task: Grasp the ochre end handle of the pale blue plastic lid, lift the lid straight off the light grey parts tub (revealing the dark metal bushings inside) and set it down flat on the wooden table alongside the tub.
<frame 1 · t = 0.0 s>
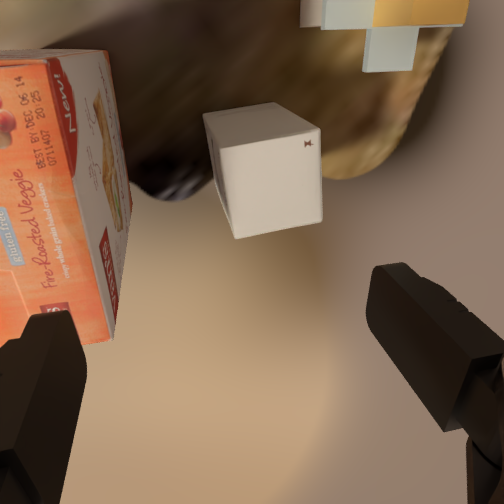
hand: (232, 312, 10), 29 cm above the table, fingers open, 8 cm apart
supplement box: (242, 144, 37), on the table
cracker box: (92, 133, 34), on the table
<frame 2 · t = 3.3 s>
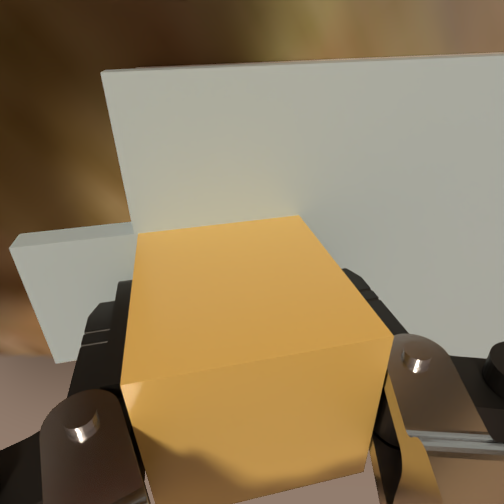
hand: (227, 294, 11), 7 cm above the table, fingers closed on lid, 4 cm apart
lid: (395, 246, 13), point 6 cm above the table, touching gripper, tub
tub: (328, 187, 18), on the table
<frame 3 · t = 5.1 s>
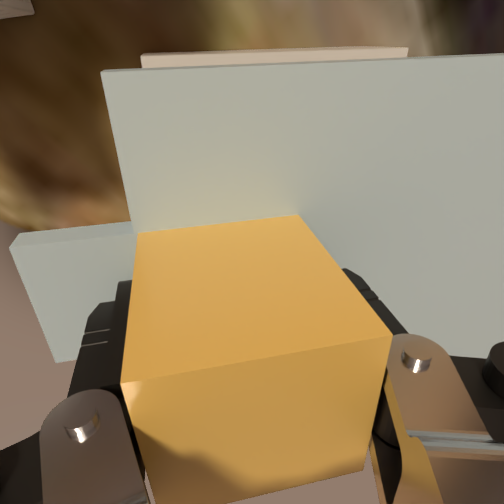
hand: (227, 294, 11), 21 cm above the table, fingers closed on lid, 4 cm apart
lid: (394, 246, 13), point 19 cm above the table, touching gripper
tub: (259, 128, 29), on the table
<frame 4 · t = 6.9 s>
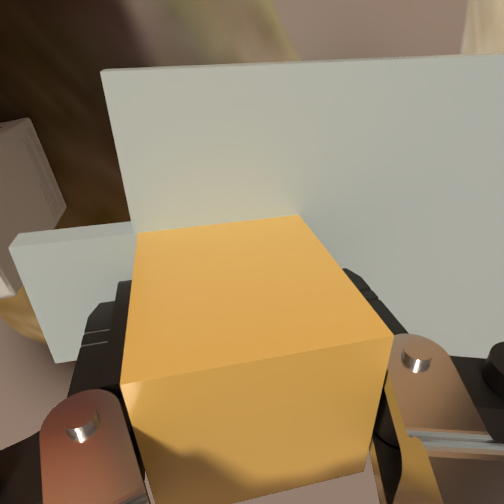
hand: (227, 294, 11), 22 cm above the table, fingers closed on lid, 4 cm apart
supplement box: (1, 172, 28), on the table
lid: (394, 246, 13), point 21 cm above the table, touching gripper
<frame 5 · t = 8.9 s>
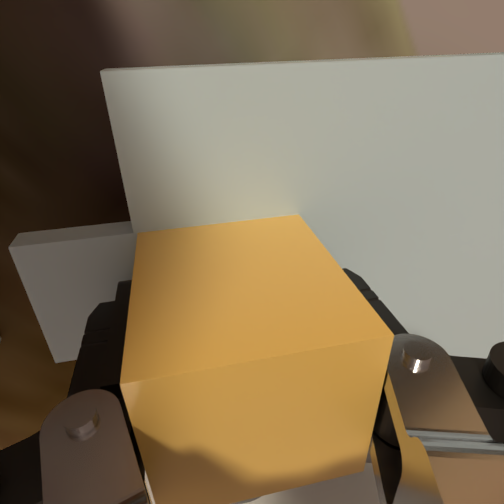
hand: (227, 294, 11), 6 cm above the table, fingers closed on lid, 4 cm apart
lid: (394, 246, 13), point 5 cm above the table, touching gripper
tub: (291, 393, 23), on the table
when the fingers open (3 cm above the table, at t = 10.5 s): lid stays where it is, point 1 cm above the table.
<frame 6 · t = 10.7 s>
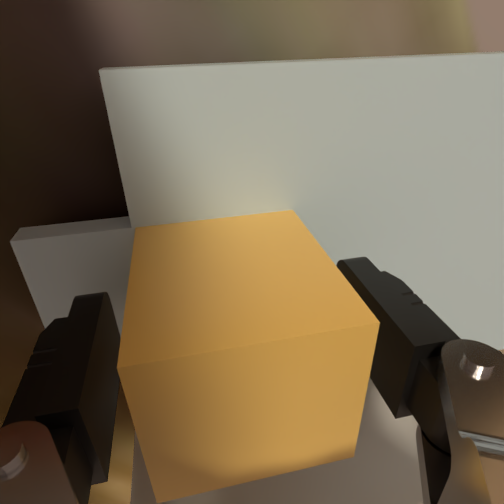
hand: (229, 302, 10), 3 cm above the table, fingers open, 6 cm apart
lid: (387, 241, 13), point 1 cm above the table
tub: (305, 446, 20), on the table
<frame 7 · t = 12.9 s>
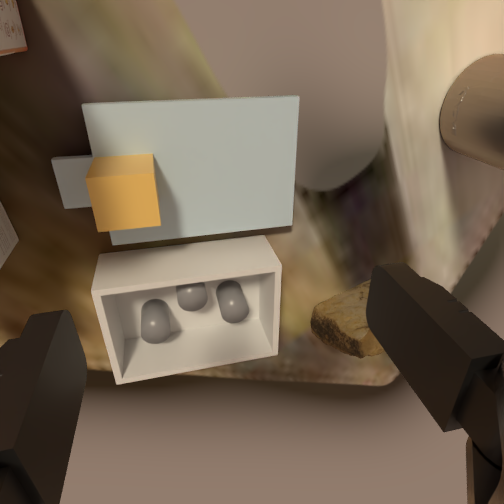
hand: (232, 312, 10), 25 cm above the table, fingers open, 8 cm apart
lid: (201, 171, 32), point 1 cm above the table
rock: (348, 299, 46), on the table
tub: (190, 289, 39), on the table
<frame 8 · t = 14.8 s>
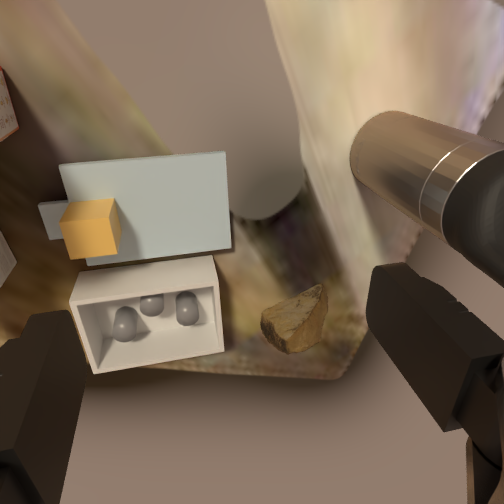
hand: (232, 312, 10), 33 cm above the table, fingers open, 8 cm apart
lid: (154, 208, 41), point 1 cm above the table
rock: (291, 305, 55), on the table
tub: (154, 298, 49), on the table
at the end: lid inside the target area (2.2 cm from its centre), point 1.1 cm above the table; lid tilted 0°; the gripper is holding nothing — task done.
